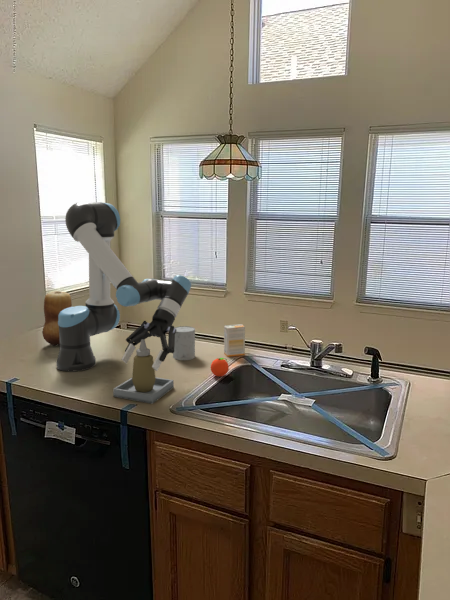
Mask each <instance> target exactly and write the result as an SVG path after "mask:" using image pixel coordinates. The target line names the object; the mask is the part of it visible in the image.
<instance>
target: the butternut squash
mask: <svg viewBox="0 0 450 600" xmlns="http://www.w3.org/2000/svg"><path fill="white" fill-rule="evenodd" d="M69 307H73V306H72V296H71V294H70V293H68V292H65V291H62V290H53V291H49V292H48V293H46V294H45V296H44V301H43V312H44V315H43V316H44V324H43V328H42V331H41V333H42V337H43V339H44V340H45V342H46V343H48V344H49V345H50V346H53V347H55V346H56V345H57V346H60V338H59V325H58V315H59V313H60V312H61V311H62V310H64V309H66V308H69ZM57 346H56V347H57Z"/></svg>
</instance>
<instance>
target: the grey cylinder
mask: <svg viewBox="0 0 450 600" xmlns="http://www.w3.org/2000/svg"><path fill="white" fill-rule="evenodd" d="M174 327H175V329H176V333H175V347H174V353H172V358H173V359H174V360H177V361H190V360H193V359H195V358H196V337H195V336H196V328H195V327H193V326H187V325H185V326H184V325H183V326H181V325H180V326H174Z"/></svg>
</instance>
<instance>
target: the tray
mask: <svg viewBox="0 0 450 600" xmlns="http://www.w3.org/2000/svg"><path fill="white" fill-rule="evenodd" d="M155 378H156V380H155V383H154V386H153V389H152V390H151V391H148V392H138V391H136V389H135V387H134V384H133V381H132V377H131V378H128V379H127V380H126V381H123V382H122V383H120V384H119V385H116V386H115V387H114V388H113V389H112V390H113V397H114V398H118V399H125V400H130V401H134V402H135V401H136V402H141V403H144V404H145V403H147V404H151V405H153V404H154V403H155V402H157V401H158V400H160V398H162V397H163V396H165V395H166V394H167V393H168V392H170V391H171V390H172V389H174V386H175V385H174V384H175V382H174V380H173V379H170V378H163V377H157V376H155Z"/></svg>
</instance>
